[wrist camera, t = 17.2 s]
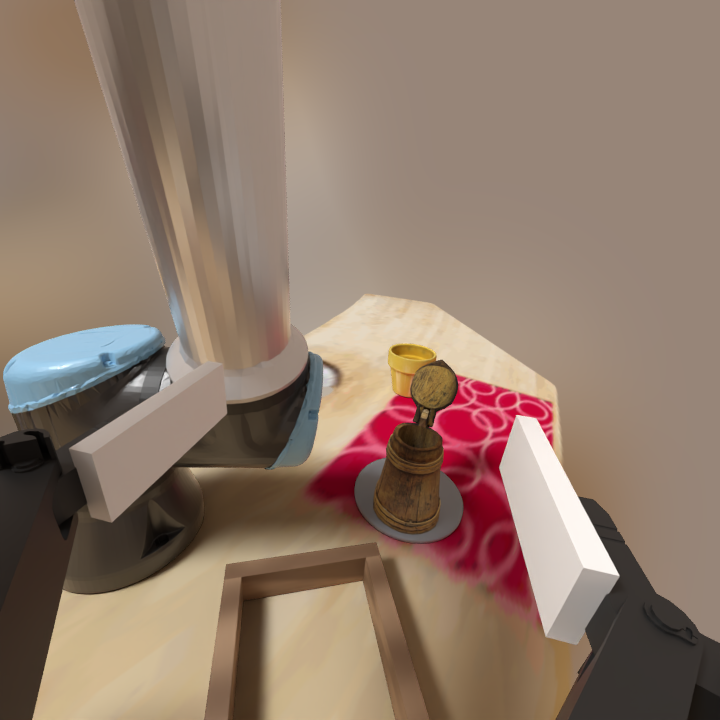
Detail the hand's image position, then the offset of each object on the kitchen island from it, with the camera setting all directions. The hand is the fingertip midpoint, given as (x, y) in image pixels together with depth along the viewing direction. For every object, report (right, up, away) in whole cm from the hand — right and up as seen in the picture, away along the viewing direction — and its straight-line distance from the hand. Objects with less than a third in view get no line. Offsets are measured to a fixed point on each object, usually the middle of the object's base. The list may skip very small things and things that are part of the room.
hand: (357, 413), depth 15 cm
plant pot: (+11, -5, +61) cm, 62 cm away
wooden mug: (+7, -16, +31) cm, 36 cm away
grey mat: (+7, -17, +32) cm, 37 cm away
